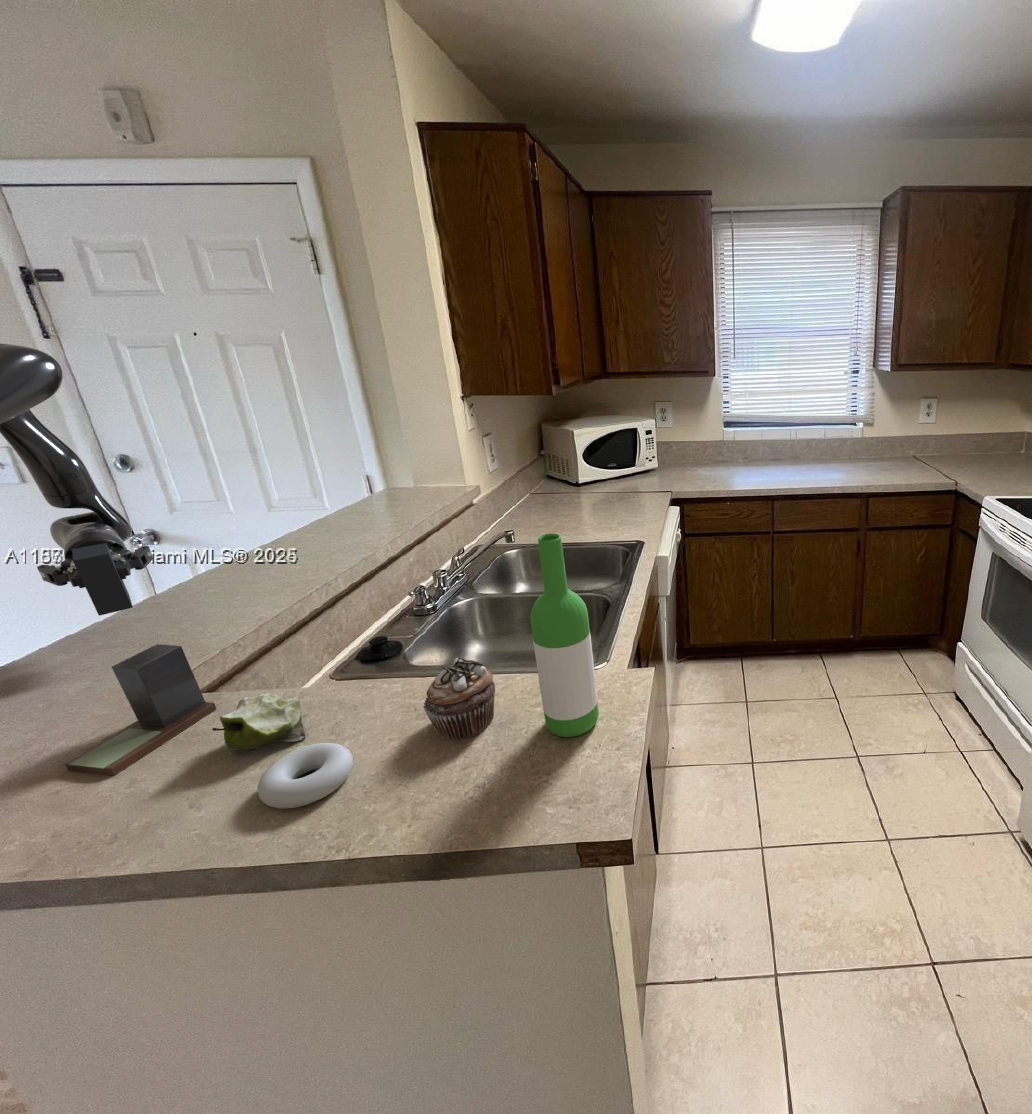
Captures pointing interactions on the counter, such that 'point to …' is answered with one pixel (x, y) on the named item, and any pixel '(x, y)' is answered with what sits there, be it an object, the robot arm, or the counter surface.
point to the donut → (290, 792)
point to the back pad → (101, 578)
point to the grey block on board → (148, 709)
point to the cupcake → (461, 700)
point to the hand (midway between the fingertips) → (101, 578)
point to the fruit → (262, 722)
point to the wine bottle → (563, 648)
